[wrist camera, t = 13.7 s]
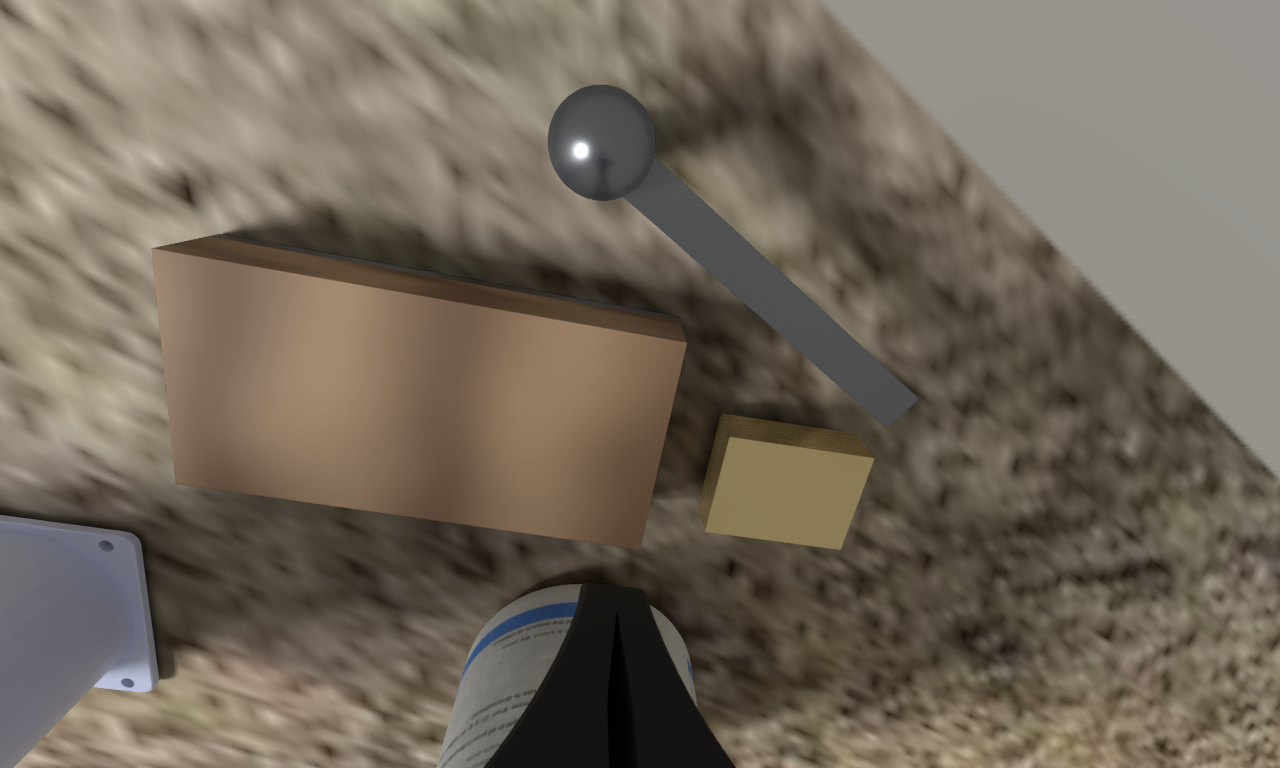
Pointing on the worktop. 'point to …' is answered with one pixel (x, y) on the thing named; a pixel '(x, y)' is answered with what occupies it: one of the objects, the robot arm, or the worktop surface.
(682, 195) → the lever
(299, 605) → the worktop surface
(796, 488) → the yellow rectangular block
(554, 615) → the supplement tub
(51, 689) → the robot arm
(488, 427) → the body
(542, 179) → the worktop surface
